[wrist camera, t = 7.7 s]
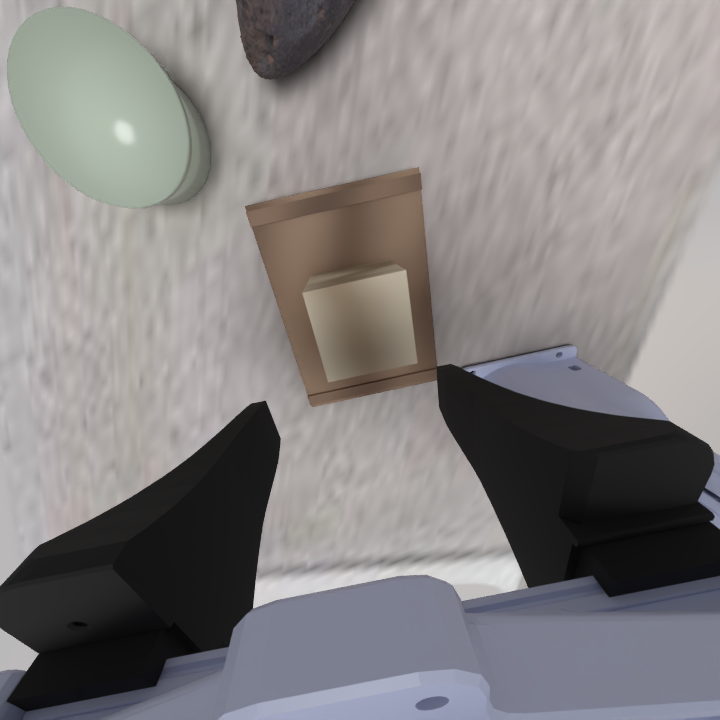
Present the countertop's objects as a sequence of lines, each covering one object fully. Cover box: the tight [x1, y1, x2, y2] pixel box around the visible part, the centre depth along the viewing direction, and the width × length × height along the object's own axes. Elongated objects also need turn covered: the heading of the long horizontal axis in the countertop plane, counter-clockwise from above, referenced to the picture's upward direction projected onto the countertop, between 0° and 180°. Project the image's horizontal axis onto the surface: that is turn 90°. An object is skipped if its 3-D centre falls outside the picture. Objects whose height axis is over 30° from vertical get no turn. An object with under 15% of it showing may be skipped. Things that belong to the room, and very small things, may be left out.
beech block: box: [302, 259, 418, 382], centre depth 17 cm, size 5×5×5 cm
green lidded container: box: [7, 7, 211, 208], centre depth 14 cm, size 7×7×4 cm
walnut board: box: [245, 167, 437, 407], centre depth 19 cm, size 10×14×1 cm
